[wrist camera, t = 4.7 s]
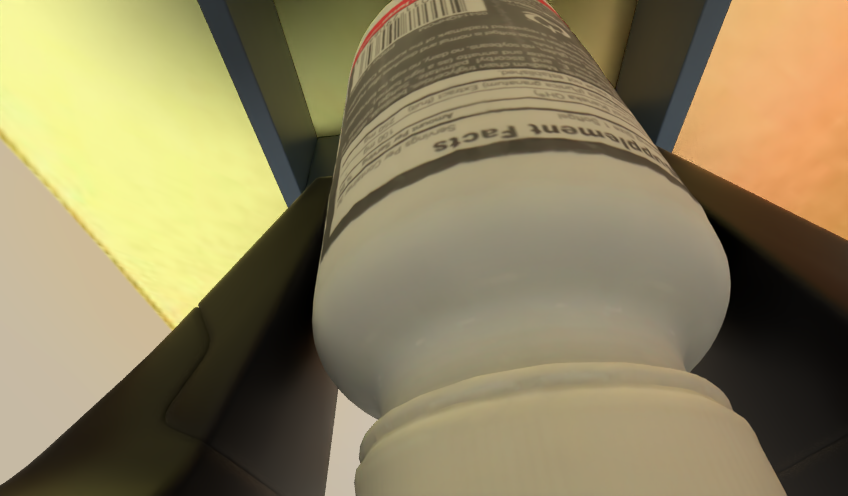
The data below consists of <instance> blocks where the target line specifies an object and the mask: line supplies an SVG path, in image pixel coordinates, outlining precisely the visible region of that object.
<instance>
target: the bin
mask: <svg viewBox="0 0 848 496" xmlns="http://www.w3.org/2000/svg"><path fill="white" fill-rule="evenodd" d="M197 1H198V3H199V6H200V8H201V10H202V12H203V15H204V17H205V19H206V22H207V24H208V26H209V28H210V31H211V33H212V35H213V38H214V40H215V42H216V44H217V47H218V49H219V51H220V54H221V56H222V58H223V60H224V63H225V65H226V67H227V70H228V72H229V74H230V76H231V79H232V81H233V83H234V86H235V88H236V90H237V92H238V95H239V97H240V99H241V102H242V104H243V106H244V108H245V111H246V113H247V115H248V118H249V120H250V122H251V124H252V127H253V129H254V131H255V134H256V136H257V138H258V140H259V143H260V145H261V147H262V150H263V152H264V154H265V156H266V159H267V161H268V163H269V166H270V168H271V170H272V172H273V175H274V177H275V179H276V182H277V184H278V186H279V188H280V191H281V193H282V195H283V198H284V200H285V202H286V204H287V207H288V208H289V207H290V206H291V205H292V203H293V202H294V201H295V200H296V199H297V198H298V197H299V196H300V195H301V194H302V193H303V192H304V191H305V190H306V189H307V187H308V186H309V185H310V184H311V183H312V182H313V181H314V180H315V179H316V178H318V177H326V176H333V175H334V169H335V164H336V159H337V152H338V146H339V140H340V136H331V137H322V138H318V139H317V136H316V133H315V130H314V127H313V124H312V121H311V118H310V114H309V111H308V108H307V105H306V102H305V99H304V96H303V93H302V89H301V86H300V83H299V80H298V77H297V74H296V71H295V67H294V64H293V61H292V58H291V55H290V52H289V49H288V46H287V42H286V39H285V36H284V33H283V30H282V27H281V24H280V21H279V17H278V14H277V11H276V8H275V5H274V2H273V0H197ZM731 1H732V0H638V1H637V5H636V9H635V13H634V17H633V21H632V25H631V29H630V33H629V37H628V42H627V46H626V50H625V54H624V58H623V62H622V66H621V70H620V74H619V78H618V82H617V86H616V92H617V93H618V95H619V97H620V98H621V100H622V101H623V102H624V103H625V105H626V106H627V107H628V108H629V110H630V111H631V113H632V114H633V115H634V117H635V118H636V119H637V121H638V122H639V123H640V125H641V126H642V128H643V129H644V130H645V132H646V133H647V134H648V136H649V137H650V139H651V140H652V142H653V143H654V145H656V146H658V147H660V148H662V149H664V150H666V151H668V152H671V153H672V151H673V148H674V145H675V143H676V140H677V138H678V135H679V133H680V130H681V128H682V125H683V123H684V120H685V118H686V115H687V112H688V110H689V107H690V105H691V102H692V100H693V97H694V95H695V92H696V90H697V87H698V85H699V82H700V79H701V77H702V74H703V72H704V69H705V67H706V64H707V62H708V59H709V57H710V54H711V52H712V49H713V46H714V44H715V41H716V39H717V36H718V34H719V31H720V29H721V26H722V24H723V21H724V19H725V16H726V13H727V11H728V8H729V6H730V3H731Z"/></svg>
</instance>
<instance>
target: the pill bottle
mask: <svg viewBox="0 0 848 496" xmlns="http://www.w3.org/2000/svg"><path fill="white" fill-rule="evenodd" d="M730 287H731V281H730V270H729V265H728V260H727V257H726V254H725V252H724V249H723V246H722V244H721V242H720V240H719V238H718V236H717V235H716V233H715V231H714V229H713V227H712V225H711V224H710V222H709V220H708V219H707V216H706V214H705V212H704V210H703V208H702V206H701V205H700V203H699V202H698V201H697V200H696V198H695V197H694V196H693V195H692V194H691V193H690V191H689V190H688V189H687V187H686V186H685V184H684V183H683V182H682V180H681V179H680V177H679V176H678V175H677V173H676V172H675V171H674V169H673V168H672V167H671V166H670V164H669V163H668V162H667V161H666V160H665V158H664V157H663V156H662V154H661V153H660V152H659V150H658V148H657V147H656V146H655V145H654V143H653V142H652V140H651V139H650V137H649V136H648V134H647V133H646V132H645V130H644V129H643V128H642V126H641V125H640V123H639V122H638V121H637V119H636V118H635V117H634V115H633V114H632V113H631V111H630V110H629V108H628V107H627V106H626V105H625V103H624V102H623V101H622V100H621V98H620V97H619V95H618V93H617V92H616V90H615V89H614V88H613V86H612V85H611V84H610V82H609V81H608V79H607V78H606V77H605V75H604V74H603V72H602V71H601V69H600V68H599V66H598V65H597V63H596V62H595V61H594V59H593V58H592V56H591V55H590V54H589V52H588V51H587V50H586V49H585V48H584V47H583V45H582V44H581V43H580V41H579V40H578V39H577V37H576V36H575V34H574V33H573V32H572V31H571V30H570V28H569V27H568V25H567V24H566V23H565V22H564V21H563V20H562V19H561V17H560V16H559V15H558V14H557V12H556V11H555V10H554V9H553V7H552V6H551V5H550V4H549V3H548V2H547V1H546V0H392V1H391V2H390V3H389V4H387V5H386V6H385V7H384V8H383V9H382V10H381V12H380V13H379V14H378V15H377V16H376V18H375V19H374V20H373V21H372V23H371V24H370V25H369V27H368V29H367V30H366V32H365V34H364V35H363V37H362V40H361V42H360V44H359V46H358V49H357V51H356V54H355V57H354V60H353V64H352V68H351V71H350V76H349V81H348V89H347V95H346V103H345V109H344V116H343V122H342V128H341V134H340V140H339V146H338V152H337V159H336V164H335V169H334V175H333V182H332V186H331V191H330V195H329V200H328V209H327V216H326V222H325V229H324V237H323V244H322V250H321V256H320V261H319V267H318V273H317V279H316V286H315V293H314V299H313V314H312V328H313V337H314V342H315V346H316V350H317V353H318V356H319V358H320V361H321V363H322V365H323V367H324V369H325V371H326V372H327V374H328V376H329V377H330V379H331V380H332V382H333V383H334V384H335V385H336V386H337V388H338V389H339V390H340V391H341V392H342V393H343V394H344V395H345V396H346V397H347V398H348V399H349V400H350V401H351V402H353V403H354V404H355V405H356V406H358V407H359V408H360V409H362V410H363V411H364V412H366V413H367V414H369V415H371V416H372V417H374V418H376V419H378V421H376V422H375V423H374V424H373V426H372V427H371V428H370V429H369V430H368V431H367V433H366V434H365V436H364V438H363V440H362V443H361V446H360V453H359V460H360V463H361V464H360V465H359V467H358V468H357V469H356V474H355V482H354V483H355V493H356V496H787V494H786V492H785V490H784V488H783V487H782V485H781V483H780V481H779V479H778V477H777V475H776V474H775V472H774V470H773V468H772V466H771V464H770V462H769V461H768V459H767V457H766V455H765V453H764V451H763V449H762V448H761V446H760V443H759V441H758V438H757V436H756V434H755V432H754V431H753V429H752V428H751V426H750V425H749V423H748V422H747V421H746V420H745V419H744V418H743V417H741V416H740V415H738V414H737V413H735V412H734V411H733V409H732V407H731V404H730V401H729V400H728V398H727V397H726V395H725V394H724V393H723V392H722V391H721V390H720V389H719V388H718V387H717V386H715V385H714V384H712V383H711V382H709V381H708V380H706V379H705V378H702V377H700V376H698V375H696V374H692V373H690V372H691V370H692V369H693V368H694V367H695V366H696V365H697V364H698V363H699V362H700V361H701V360H702V358H703V357H704V356H705V354H706V353H707V352H708V350H709V349H710V348H711V346H712V344H713V342H714V340H715V339H716V337H717V335H718V333H719V330H720V328H721V326H722V324H723V321H724V318H725V315H726V312H727V308H728V304H729V299H730Z"/></svg>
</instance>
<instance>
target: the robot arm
mask: <svg viewBox="0 0 848 496" xmlns="http://www.w3.org/2000/svg"><path fill="white" fill-rule="evenodd" d="M655 146H656V145H655ZM656 147H657V148H658V150H659V152H660V153H661V154H662V156H663V157H664V158H665V160H666V161H667V162H668V163H669V164H670V166H671V167H672V168H673V169H674V171H675V172H676V173H677V175H678V176H679V177H680V179H681V180H682V182H683V183H684V184H685V186H686V187H687V189H688V190H689V191H690V193H691V194H692V195H693V196H694V197H695V198H696V200H697V201H698V202H699V203H700V205H701V206H702V208H703V210H704V212H705V214H706V216H707V219H708V220H709V222H710V224H711V225H712V227H713V229H714V231H715V233H716V235H717V236H718V238H719V240H720V242H721V244H722V246H723V249H724V252H725V254H726V257H727V260H728V265H729V270H730V281H731V287H730V299H729V304H728V308H727V312H726V315H725V318H724V321H723V324H722V326H721V328H720V330H719V333H718V335H717V337H716V339H715V340H714V342H713V344H712V346H711V348H710V349H709V350H708V352H707V353H706V354H705V356H704V357H703V358H702V360H701V361H700V362H699V363H698V364H697V365H696V366H695V367H694V368H693V369H692V370H691V372H690V373H692V374H696V375H698V376H700V377H702V378H705V379H706V380H708V381H709V382H711V383H712V384H714V385H715V386H717V387H718V388H719V389H720V390H721V391H722V392H723V393H724V394H725V395H726V397H727V398H728V400H729V401H730V404H731V407H732V409H733V411H734V412H735V413H737V414H738V415H740V416H741V417H743V418H744V419H745V420H746V421H747V422H748V423H749V425H750V426H751V428H752V429H753V431H754V432H755V434H756V436H757V438H758V441H759V443H760V446H761V448H762V449H763V451H764V453H765V455H766V457H767V459H768V461H769V462H770V464H771V466H772V468H773V470H774V472H775V474H776V475H777V477H778V479H779V481H780V483H781V485H782V487H783V488H784V490H785V492H786V494H787V496H848V240H846V239H844V238H842V237H840V236H838V235H836V234H834V233H832V232H830V231H828V230H826V229H823V228H821V227H819V226H817V225H815V224H813V223H811V222H809V221H807V220H805V219H803V218H801V217H799V216H797V215H795V214H793V213H791V212H789V211H787V210H785V209H783V208H781V207H779V206H777V205H775V204H773V203H771V202H769V201H767V200H765V199H763V198H761V197H759V196H757V195H755V194H753V193H751V192H749V191H747V190H745V189H743V188H741V187H739V186H737V185H735V184H733V183H731V182H729V181H727V180H725V179H723V178H721V177H719V176H717V175H715V174H713V173H711V172H709V171H707V170H705V169H703V168H701V167H699V166H697V165H695V164H693V163H691V162H689V161H687V160H685V159H683V158H681V157H679V156H677V155H675V154H673V153H671V152H668V151H666V150H664V149H662V148H660V147H658V146H656ZM332 182H333V176H326V177H318V178H316V179H315V180H314V181H313V182H312V183H311V184H310V185H309V186H308V187H307V189H306V190H305V191H304V192H303V193H302V194H301V195H300V196H299V197H298V198H297V199H296V200H295V201H294V202H293V203H292V205H291V206H290V207H289V208H288V209H287V210H286V211H285V212H284V213H283V214H282V215H281V216H280V217H279V218H278V219H277V221H276V222H275V223H274V224H273V225H272V226H271V227H270V228H269V229H268V230H267V231H266V232H265V233H264V234H263V235H262V237H261V238H260V239H259V240H258V241H257V242H256V243H255V244H254V245H253V246H252V247H251V248H250V249H249V250H248V251H247V253H246V254H245V255H244V256H243V257H242V258H241V259H240V260H239V261H238V262H237V263H236V264H235V265H234V266H233V267H232V268H231V270H230V271H229V272H228V273H227V274H226V275H225V276H224V277H223V278H222V279H221V280H220V281H219V282H218V283H217V284H216V286H215V287H214V288H213V289H212V290H211V291H210V292H209V293H208V294H207V295H206V296H205V297H204V298H203V299H202V300H201V302H200V303H199V304H198V306H199V308H198V307H195V308H194V309H193V310H192V311H191V312H190V313H189V314H188V315H187V316H186V317H185V318H184V319H183V320H182V322H181V323H180V324H179V325H178V326H177V327H176V328H175V329H174V330H173V331H172V332H171V333H170V334H169V335H168V336H167V337H166V338H165V339H164V340H163V341H162V342H161V343H160V344H159V345H158V346H157V347H156V348H155V349H154V350H153V351H152V352H151V353H150V354H149V355H148V356H147V357H146V358H145V359H144V360H143V361H142V362H141V363H140V364H138V365H137V366H136V367H135V368H134V369H133V370H132V371H131V372H130V373H129V374H128V375H127V376H126V377H125V378H124V379H123V380H122V381H120V382H119V383H118V384H117V385H116V386H115V387H114V388H113V389H112V390H111V391H110V392H108V393H107V394H106V395H105V396H104V397H103V398H102V399H101V400H100V401H99V402H98V403H96V404H95V405H94V406H93V407H92V408H91V409H90V410H89V411H88V412H87V413H85V414H84V415H83V416H82V417H81V418H80V419H79V420H78V421H77V422H76V423H75V424H73V425H72V426H71V427H70V428H69V429H68V430H67V431H66V432H65V433H64V434H62V435H61V436H60V437H59V438H58V439H57V440H56V441H55V442H54V443H53V444H51V445H50V447H48V448H47V449H46V450H45V451H44V452H43V453H42V454H41V455H39V456H38V457H37V458H36V459H35V460H33V461H32V462H31V463H30V464H29V465H28V466H26V467H25V468H24V469H22V470H21V471H20V472H18V473H17V474H16V475H14V476H13V477H12V478H10V479H9V480H8V481H6V482H5V483H3V484H2V485H0V496H325V488H326V481H327V473H328V465H329V457H330V449H331V442H332V434H333V426H334V418H335V410H336V402H337V394H338V388H337V386H336V385H335V384H334V383H333V382H332V380H331V379H330V377H329V376H328V374H327V372H326V371H325V369H324V367H323V365H322V363H321V361H320V358H319V356H318V353H317V350H316V346H315V342H314V337H313V328H312V314H313V299H314V293H315V286H316V279H317V273H318V267H319V261H320V256H321V250H322V244H323V237H324V229H325V222H326V216H327V209H328V200H329V195H330V191H331V186H332Z"/></svg>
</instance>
